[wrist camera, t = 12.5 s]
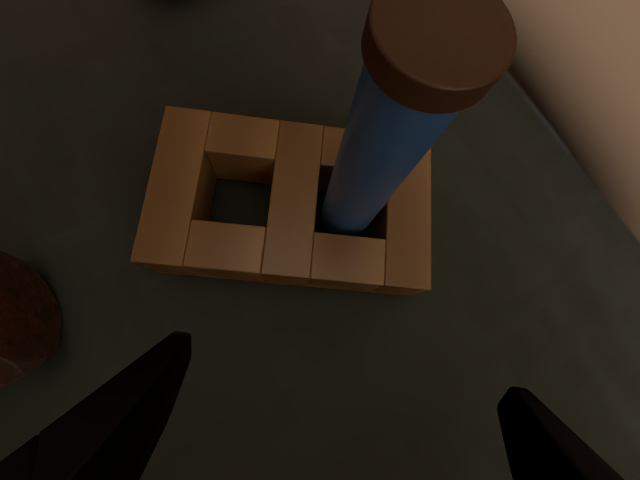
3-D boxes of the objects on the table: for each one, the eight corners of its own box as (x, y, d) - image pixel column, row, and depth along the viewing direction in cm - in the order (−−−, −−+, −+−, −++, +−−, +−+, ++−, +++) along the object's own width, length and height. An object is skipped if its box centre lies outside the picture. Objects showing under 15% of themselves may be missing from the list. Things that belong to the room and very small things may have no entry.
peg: (377, 231, 19) (548, 53, 7) (332, 256, 18) (427, 114, 6) (350, 188, 20) (460, -54, 7) (305, 211, 19) (340, -8, 6)
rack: (409, 167, 20) (431, 138, 17) (407, 296, 18) (431, 290, 15) (185, 139, 19) (165, 105, 16) (157, 272, 17) (129, 261, 14)
